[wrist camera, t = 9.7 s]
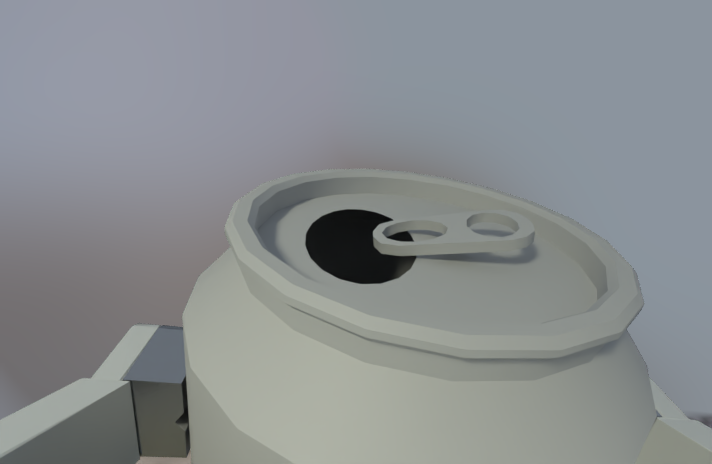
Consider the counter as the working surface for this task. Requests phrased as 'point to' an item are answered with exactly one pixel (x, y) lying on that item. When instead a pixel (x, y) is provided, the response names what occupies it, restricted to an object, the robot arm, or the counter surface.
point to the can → (412, 330)
